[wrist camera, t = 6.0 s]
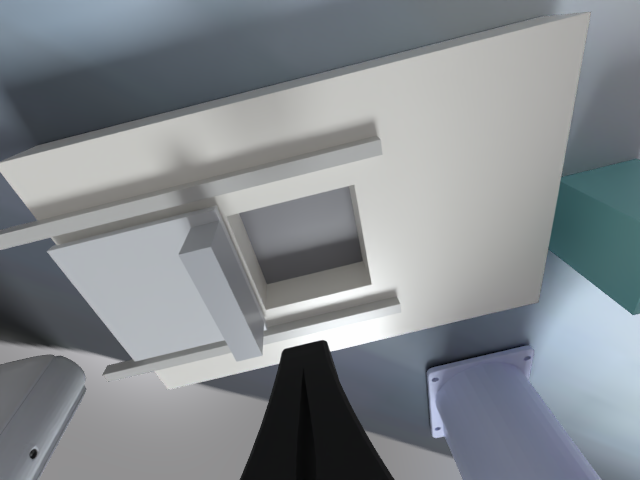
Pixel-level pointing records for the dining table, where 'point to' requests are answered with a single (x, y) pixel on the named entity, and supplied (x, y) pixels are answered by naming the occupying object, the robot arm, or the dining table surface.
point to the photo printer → (35, 412)
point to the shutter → (168, 286)
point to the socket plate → (343, 188)
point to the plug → (602, 229)
